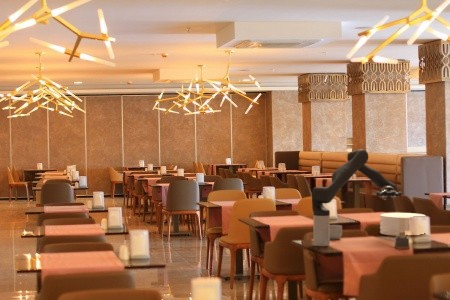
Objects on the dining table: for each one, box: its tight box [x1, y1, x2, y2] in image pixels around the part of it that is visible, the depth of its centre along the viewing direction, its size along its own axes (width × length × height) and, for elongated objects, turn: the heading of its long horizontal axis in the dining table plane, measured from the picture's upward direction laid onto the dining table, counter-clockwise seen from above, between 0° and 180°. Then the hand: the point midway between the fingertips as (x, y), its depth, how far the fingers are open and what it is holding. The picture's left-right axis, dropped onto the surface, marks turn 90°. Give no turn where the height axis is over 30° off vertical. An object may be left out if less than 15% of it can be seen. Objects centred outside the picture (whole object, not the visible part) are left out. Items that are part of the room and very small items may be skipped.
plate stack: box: [379, 212, 427, 237], centre depth 570 cm, size 28×28×12 cm
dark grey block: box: [394, 236, 411, 250], centre depth 508 cm, size 10×8×6 cm
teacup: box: [330, 224, 343, 240], centre depth 545 cm, size 14×11×8 cm
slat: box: [399, 217, 406, 238], centre depth 508 cm, size 5×3×15 cm, turn 170°
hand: (389, 195), depth 523 cm, fingers open, 8 cm apart
